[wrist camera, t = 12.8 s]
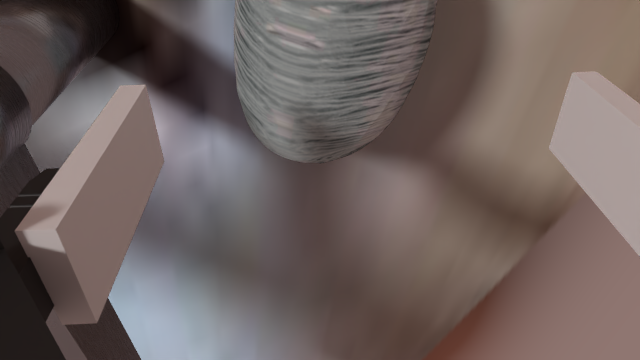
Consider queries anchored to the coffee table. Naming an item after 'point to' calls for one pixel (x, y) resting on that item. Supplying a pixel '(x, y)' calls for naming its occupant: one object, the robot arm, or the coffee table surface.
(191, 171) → the coffee table surface
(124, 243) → the robot arm
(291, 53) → the grey streaked egg shape
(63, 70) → the latch post
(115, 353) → the bar
